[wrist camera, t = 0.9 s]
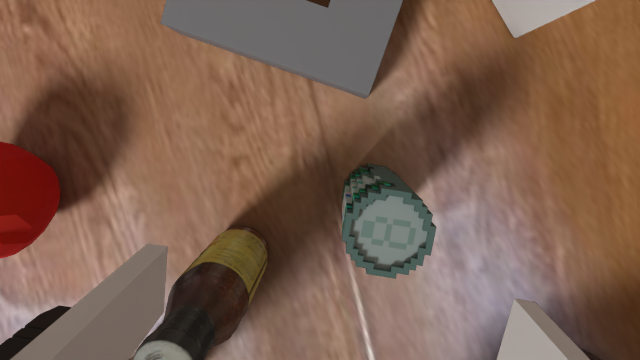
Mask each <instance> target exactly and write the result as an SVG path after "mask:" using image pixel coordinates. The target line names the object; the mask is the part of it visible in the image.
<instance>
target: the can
mask: <svg viewBox="0 0 640 360" xmlns="http://www.w3.org/2000/svg"><path fill="white" fill-rule="evenodd" d="M432 216H433V214H432V213H431V212H430V211H429V210H428V207H427V206H426V205H425V204H424V203H423V200H422V199H421V198H420V197H419V196H418V195H417V194H416V193H415V192H414V191H413V190H412V189H410V188H409V187H408V186H407V185H406V184H405V183H404V182H403V181H402V180H401V179H400V178H399V177H398V176H397V175H396V174H395V173H394V172H392V171H390V170H389V169H388V168H387V167H385V166H378V165H372V164H367V168H366V167H360V166H359V170H354V173H350V176H349V180H345V183H344V189H343V195H342V241H344V242H346V253H347V254H351V260H355V262H356V266H357V267H363V268H366V274H371V275H377V276H383V277H389V278H395V279H396V274H397V273H399V274H405V275H409V269H410V270H416V265H420V266H422V265H423V260H424V255H430V256H431V251H432V246H433V241H434V236H435V231H436V226H435V225H434V224H433V223H432V222H431V221H432Z"/></svg>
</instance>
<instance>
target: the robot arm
mask: <svg viewBox="0 0 640 360" xmlns="http://www.w3.org/2000/svg"><path fill="white" fill-rule="evenodd" d="M167 252H168V247H167V246H160V245H153V244H146V245H145V246H144V247H143V248H142V249H141V250H139V251H138V252H137V253H136V254H135V255H133V256H132V257H131V258H130V259H129V260H127V261H126V262H125V263H124V264H123V265H122V266H120V267H119V268H118V269H117V270H116V271H114V272H113V273H112V274H111V275H110V276H109V277H107V278H106V279H105V280H104V281H103V282H101V283H100V284H99V285H98V286H97V287H96V288H94V289H93V290H92V291H91V292H90V293H88V294H87V295H86V296H85V297H84V298H82V299H81V300H80V301H79V302H78V303H77V304H75V305H74V306H73V307H65V306H57V307H55V308H53V309H51V310H49V311H46V312H44V313H42V314H40V315H38V316H37V317H36V318H35V319H33V320H32V321H31V322H29V323H28V324H27V325H25V328H22V329H20V330H19V331H18V332H16V333H15V334H14V335H13V337H12V338H9V339H7V340H6V341H5V342H4V343H2V344H1V345H0V360H128V359H129V358H130V356H131V355H132V354H133V352H134V351H135V350H136V348H137V347H138V346H139V344H140V343H141V342H142V340H143V339H144V338H145V336H146V335H147V334H148V332H149V331H150V330H151V328H152V327H153V326H154V324H155V323H156V322H157V320H158V319H159V318H160V316H161V315H162V314H163V312H164V297H165V282H166V267H167ZM497 360H600V359H599V358H597V357H596V356H595V355H593V354H591V353H589V352H587V351H585V350H582V349H580V348H578V346H577V345H576V344H575V343H574V342H573V341H572V340H571V339H570V338H569V337H568V336H567V335H566V334H565V333H564V332H563V331H562V330H561V329H560V328H559V327H558V326H557V325H556V324H555V323H554V322H553V320H552V319H551V318H550V317H549V316H548V315H547V314H546V313H545V312H544V311H543V310H542V309H541V308H540V307H539V306H538V305H537V304H536V303H535V302H534V301H527V300H520V299H514V301H513V305H512V308H511V312H510V315H509V319H508V322H507V325H506V329H505V332H504V336H503V339H502V343H501V346H500V350H499V353H498V356H497Z"/></svg>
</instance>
